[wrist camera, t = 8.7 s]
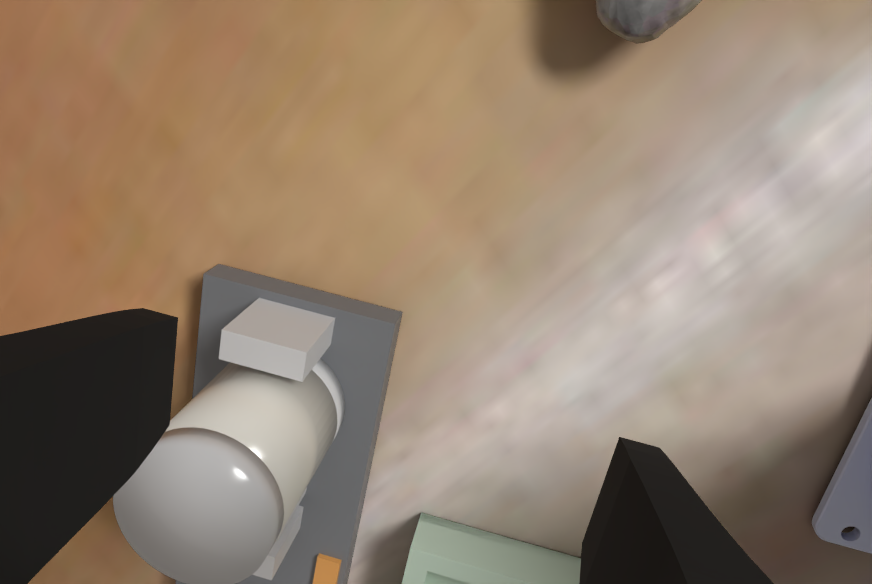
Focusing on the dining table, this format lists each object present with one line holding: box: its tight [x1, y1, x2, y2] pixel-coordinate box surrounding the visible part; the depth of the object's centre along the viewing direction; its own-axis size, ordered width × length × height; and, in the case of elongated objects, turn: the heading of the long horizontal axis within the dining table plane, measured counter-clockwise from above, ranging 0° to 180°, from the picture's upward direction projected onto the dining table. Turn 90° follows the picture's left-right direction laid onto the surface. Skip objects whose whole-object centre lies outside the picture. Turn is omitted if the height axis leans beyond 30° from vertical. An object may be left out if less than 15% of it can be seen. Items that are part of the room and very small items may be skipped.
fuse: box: [113, 358, 345, 584], centre depth 20 cm, size 4×4×6 cm
